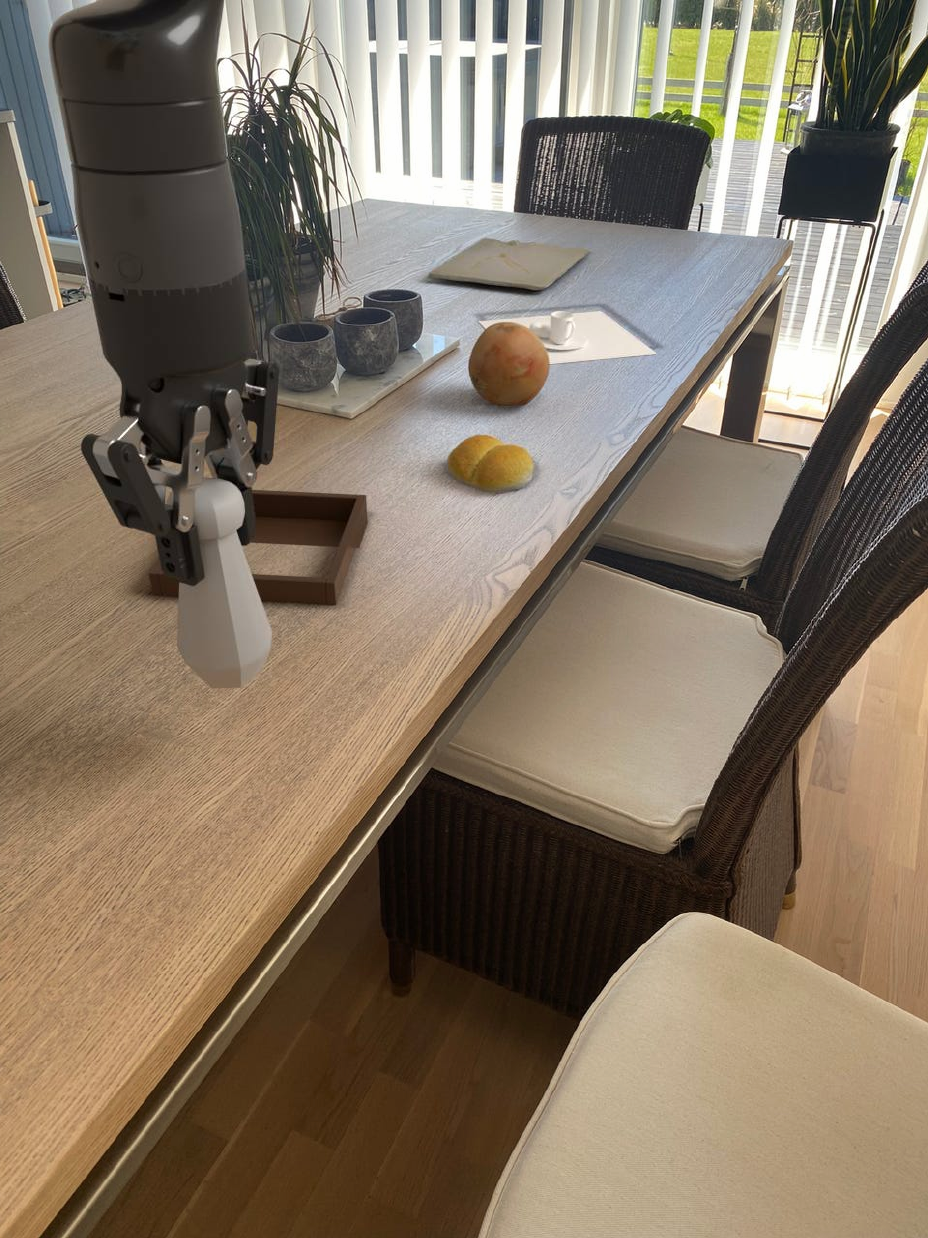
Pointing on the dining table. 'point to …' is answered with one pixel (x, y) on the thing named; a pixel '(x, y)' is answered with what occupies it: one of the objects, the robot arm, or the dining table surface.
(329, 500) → the tray
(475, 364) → the onion
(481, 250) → the decorative slab
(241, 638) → the salt shaker
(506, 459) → the bread roll
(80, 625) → the dining table surface
